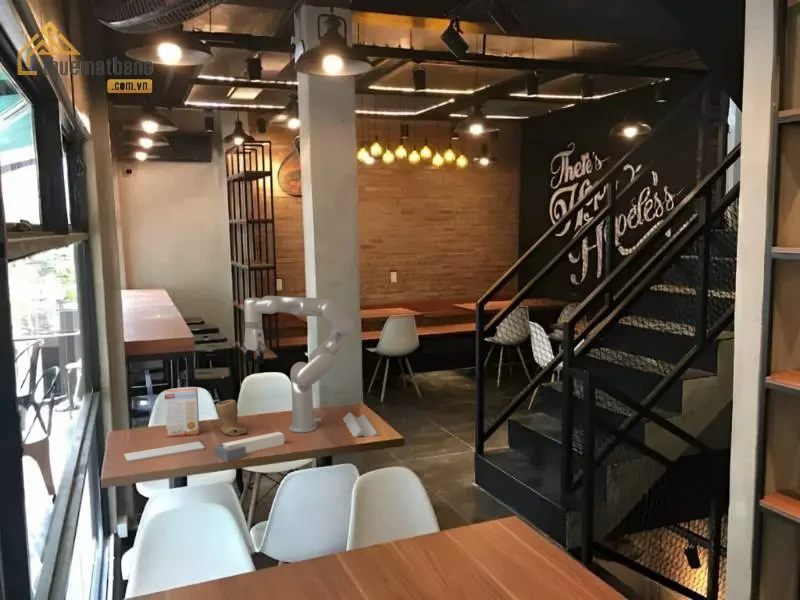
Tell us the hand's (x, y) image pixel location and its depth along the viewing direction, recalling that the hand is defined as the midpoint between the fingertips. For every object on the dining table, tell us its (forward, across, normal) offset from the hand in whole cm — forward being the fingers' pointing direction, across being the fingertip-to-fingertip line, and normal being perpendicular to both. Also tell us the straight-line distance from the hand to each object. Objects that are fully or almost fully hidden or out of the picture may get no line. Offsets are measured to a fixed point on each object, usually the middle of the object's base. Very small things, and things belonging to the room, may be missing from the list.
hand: (254, 362), depth 297 cm
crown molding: (+34, -24, -41) cm, 59 cm away
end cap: (+33, -18, +23) cm, 44 cm away
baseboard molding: (+34, +7, +40) cm, 53 cm away
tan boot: (+34, +11, +7) cm, 36 cm away
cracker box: (+34, +24, +24) cm, 48 cm away
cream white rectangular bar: (+34, -17, +12) cm, 40 cm away
